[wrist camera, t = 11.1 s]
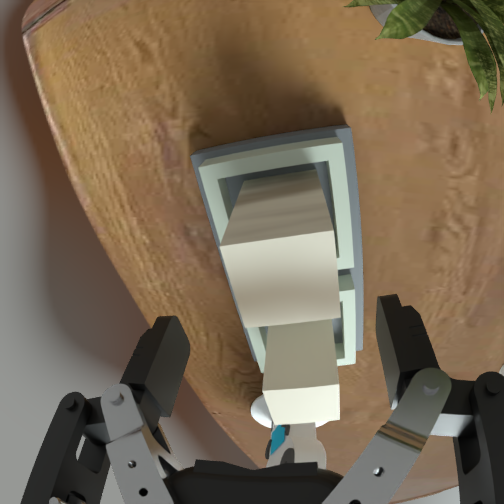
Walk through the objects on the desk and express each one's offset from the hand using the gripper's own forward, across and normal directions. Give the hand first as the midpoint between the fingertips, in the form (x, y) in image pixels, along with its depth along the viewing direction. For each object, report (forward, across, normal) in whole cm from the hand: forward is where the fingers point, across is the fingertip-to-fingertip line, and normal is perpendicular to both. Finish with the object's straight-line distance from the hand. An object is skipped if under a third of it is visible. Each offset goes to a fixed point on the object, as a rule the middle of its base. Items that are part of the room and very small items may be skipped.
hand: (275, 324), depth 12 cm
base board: (+13, 0, +6) cm, 15 cm away
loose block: (+12, 0, 0) cm, 12 cm away
